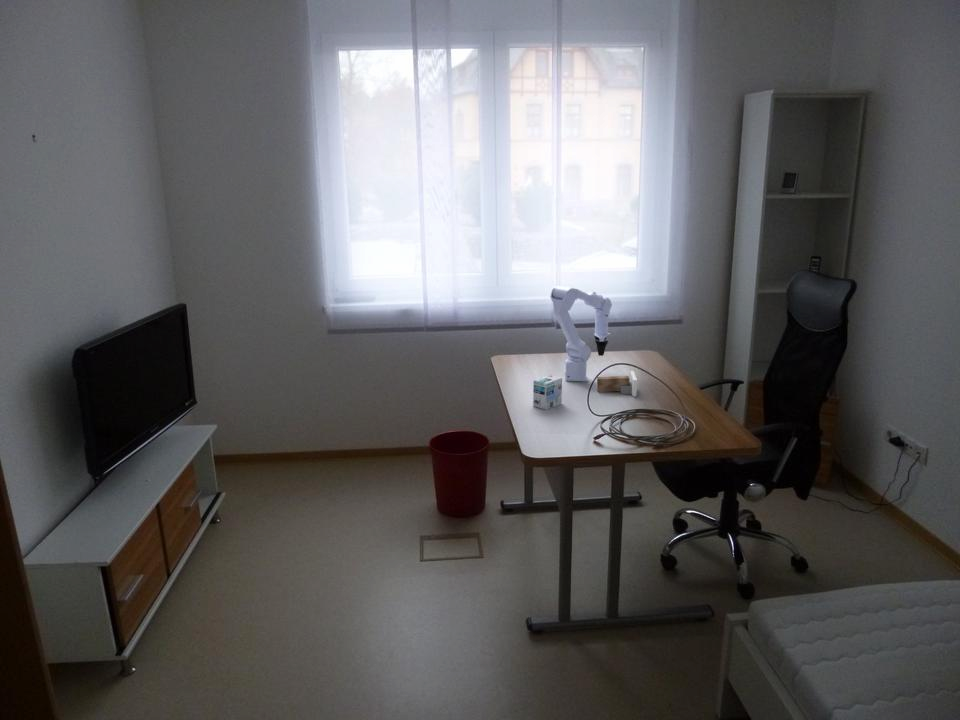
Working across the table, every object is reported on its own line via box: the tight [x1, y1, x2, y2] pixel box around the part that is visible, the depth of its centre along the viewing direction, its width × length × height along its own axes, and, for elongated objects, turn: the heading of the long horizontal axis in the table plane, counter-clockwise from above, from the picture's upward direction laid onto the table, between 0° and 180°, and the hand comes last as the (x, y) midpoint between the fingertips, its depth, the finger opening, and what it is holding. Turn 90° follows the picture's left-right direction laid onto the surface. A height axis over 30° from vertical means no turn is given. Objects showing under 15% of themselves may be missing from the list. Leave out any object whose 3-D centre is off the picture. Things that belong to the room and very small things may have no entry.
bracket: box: [619, 370, 638, 397], centre depth 288 cm, size 6×13×7 cm, turn 174°
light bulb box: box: [532, 374, 563, 411], centre depth 272 cm, size 11×7×11 cm, turn 137°
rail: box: [596, 375, 630, 393], centre depth 289 cm, size 13×3×6 cm, turn 84°
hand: (600, 353), depth 312 cm, fingers open, 7 cm apart
